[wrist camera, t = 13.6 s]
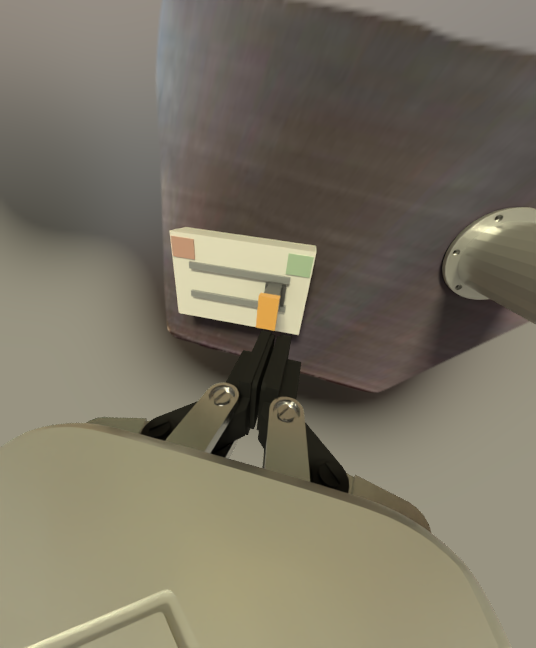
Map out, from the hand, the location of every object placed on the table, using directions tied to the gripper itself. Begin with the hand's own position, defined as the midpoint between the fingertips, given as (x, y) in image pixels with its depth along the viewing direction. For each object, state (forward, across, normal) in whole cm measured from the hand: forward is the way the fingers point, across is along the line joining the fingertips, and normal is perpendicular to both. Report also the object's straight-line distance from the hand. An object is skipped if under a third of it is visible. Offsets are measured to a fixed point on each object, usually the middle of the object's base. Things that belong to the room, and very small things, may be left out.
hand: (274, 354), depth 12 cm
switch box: (+27, +10, +6) cm, 29 cm away
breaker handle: (+22, +4, +6) cm, 23 cm away
